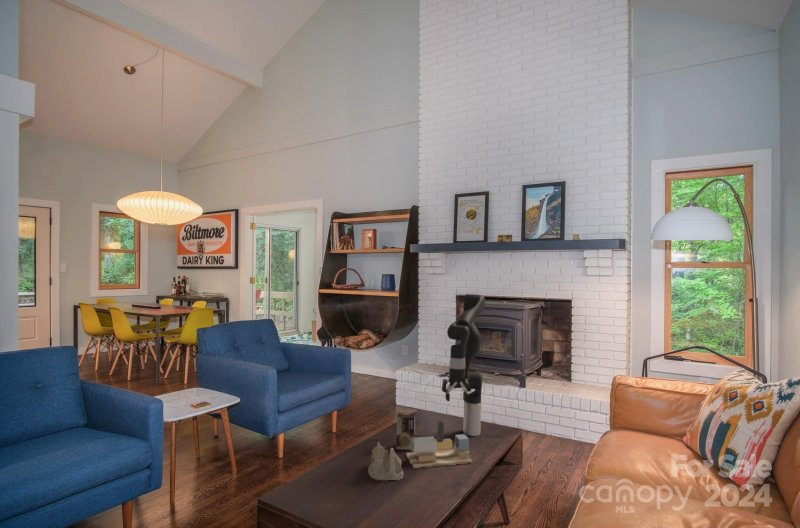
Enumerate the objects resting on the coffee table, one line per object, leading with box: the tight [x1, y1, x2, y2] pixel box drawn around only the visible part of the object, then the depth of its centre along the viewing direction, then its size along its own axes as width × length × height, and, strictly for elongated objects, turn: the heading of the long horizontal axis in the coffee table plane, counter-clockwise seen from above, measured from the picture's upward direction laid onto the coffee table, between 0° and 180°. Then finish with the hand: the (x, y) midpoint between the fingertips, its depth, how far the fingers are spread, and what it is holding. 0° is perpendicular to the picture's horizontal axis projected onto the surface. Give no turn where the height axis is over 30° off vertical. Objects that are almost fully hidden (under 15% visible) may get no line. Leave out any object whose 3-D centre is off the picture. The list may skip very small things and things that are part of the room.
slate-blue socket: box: [453, 433, 471, 459], centre depth 214 cm, size 8×5×9 cm, turn 13°
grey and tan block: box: [410, 436, 437, 463], centre depth 210 cm, size 10×11×9 cm
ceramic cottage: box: [367, 441, 405, 481], centre depth 198 cm, size 16×16×15 cm
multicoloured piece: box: [435, 420, 453, 450], centre depth 211 cm, size 3×16×12 cm, turn 103°
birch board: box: [405, 448, 473, 469], centre depth 212 cm, size 14×28×1 cm, turn 103°
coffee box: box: [395, 412, 416, 451], centre depth 225 cm, size 9×6×16 cm
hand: (456, 400), depth 218 cm, fingers open, 8 cm apart
